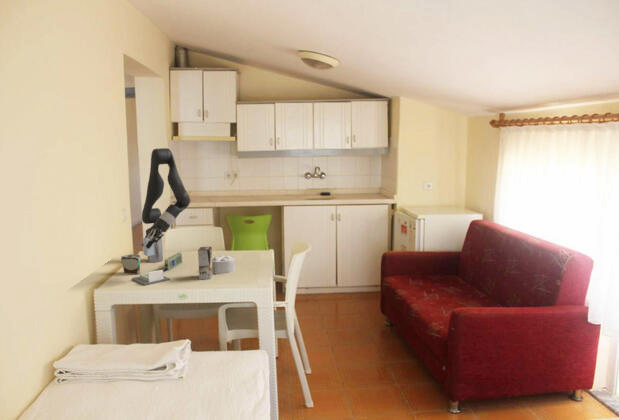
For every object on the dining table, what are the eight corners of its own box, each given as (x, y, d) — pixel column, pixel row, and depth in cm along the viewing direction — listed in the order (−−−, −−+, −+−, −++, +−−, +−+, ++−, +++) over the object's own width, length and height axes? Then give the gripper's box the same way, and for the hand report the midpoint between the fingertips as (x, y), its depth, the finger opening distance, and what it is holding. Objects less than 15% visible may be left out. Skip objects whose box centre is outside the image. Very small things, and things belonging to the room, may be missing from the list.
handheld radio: (183, 262, 300) (165, 273, 276) (178, 263, 301) (160, 273, 276) (182, 252, 299) (164, 261, 275) (177, 252, 300) (158, 262, 275)
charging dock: (132, 279, 263) (131, 269, 262) (156, 274, 272) (155, 264, 271) (144, 285, 251) (143, 274, 250) (169, 280, 260) (169, 269, 260)
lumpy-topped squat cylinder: (210, 270, 279) (210, 255, 278) (233, 268, 284) (232, 253, 283) (213, 274, 270) (213, 259, 268) (237, 272, 274) (236, 257, 273)
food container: (146, 271, 279) (145, 254, 278) (139, 274, 273) (138, 257, 272) (129, 270, 283) (128, 253, 282) (122, 273, 277) (120, 256, 276)
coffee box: (211, 279, 261) (209, 249, 259) (199, 279, 260) (197, 250, 258) (213, 274, 270) (211, 246, 268) (201, 275, 270) (199, 246, 267)
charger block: (143, 254, 260) (142, 238, 259) (150, 253, 263) (149, 237, 262) (147, 256, 257) (146, 239, 256) (154, 254, 259) (153, 238, 258)
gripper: (154, 216, 267) (134, 241, 261) (166, 218, 257) (145, 244, 250) (163, 224, 272) (144, 249, 265) (175, 227, 261) (156, 253, 255)
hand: (145, 246), depth 258 cm, fingers closed on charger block, 4 cm apart
